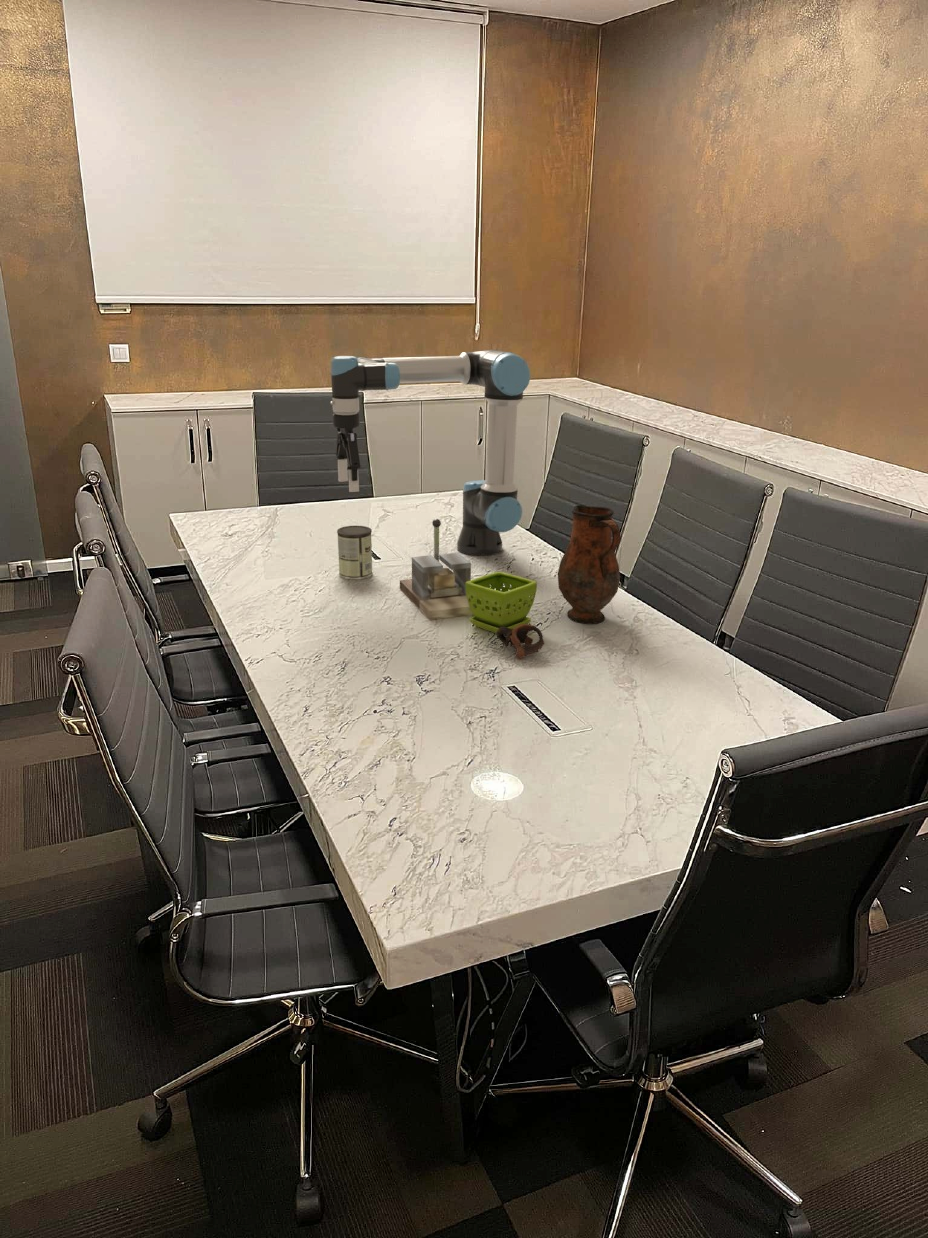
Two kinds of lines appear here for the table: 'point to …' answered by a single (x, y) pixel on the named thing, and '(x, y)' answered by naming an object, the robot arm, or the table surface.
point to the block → (441, 579)
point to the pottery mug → (521, 639)
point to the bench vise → (419, 586)
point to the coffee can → (355, 552)
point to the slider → (445, 591)
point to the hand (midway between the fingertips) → (348, 486)
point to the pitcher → (590, 564)
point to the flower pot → (500, 600)
